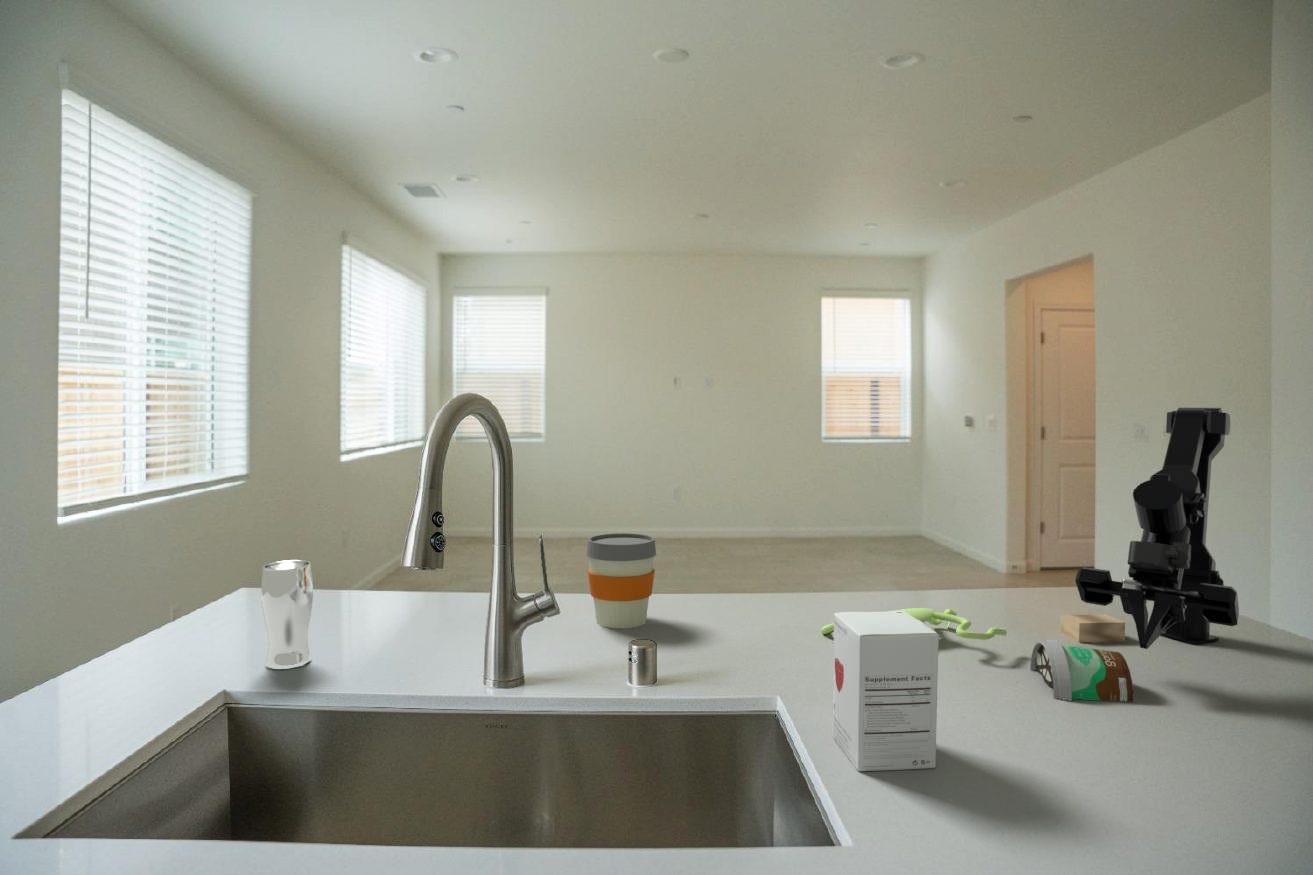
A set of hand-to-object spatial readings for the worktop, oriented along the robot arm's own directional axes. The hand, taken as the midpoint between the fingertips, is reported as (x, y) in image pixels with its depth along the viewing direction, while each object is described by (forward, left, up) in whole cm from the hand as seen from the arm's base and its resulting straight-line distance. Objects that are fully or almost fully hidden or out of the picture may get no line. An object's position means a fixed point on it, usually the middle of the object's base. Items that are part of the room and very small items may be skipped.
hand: (1143, 646), depth 102 cm
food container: (0, -3, -4) cm, 4 cm away
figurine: (+13, -30, -7) cm, 33 cm away
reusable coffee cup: (+54, -59, -7) cm, 80 cm away
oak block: (-17, -21, -7) cm, 28 cm away
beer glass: (+108, -56, -7) cm, 122 cm away
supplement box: (+44, +1, -7) cm, 44 cm away
